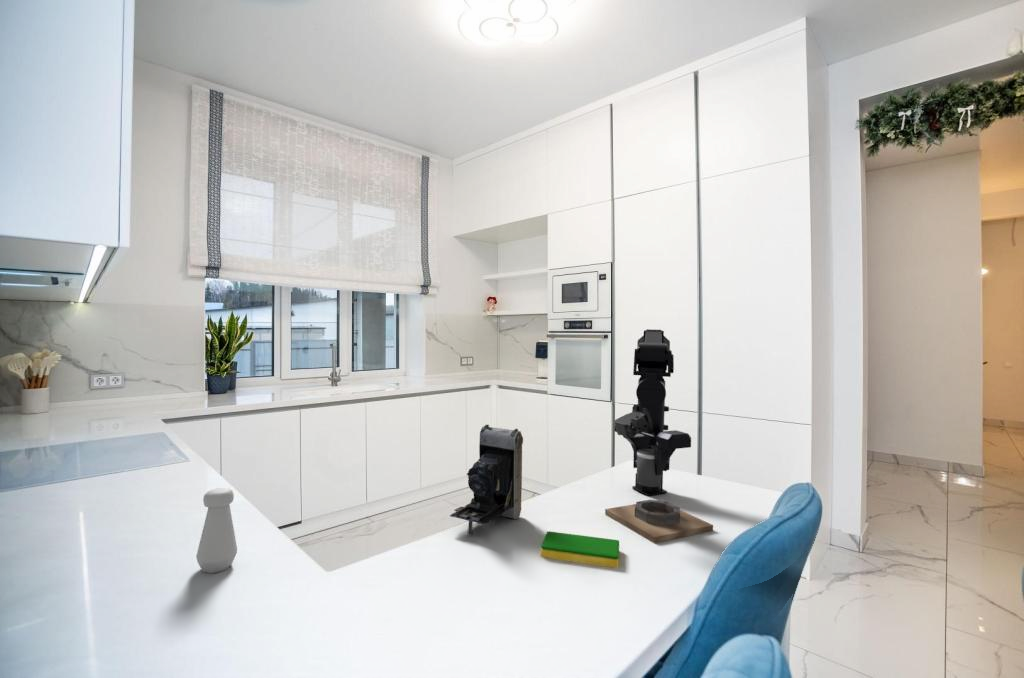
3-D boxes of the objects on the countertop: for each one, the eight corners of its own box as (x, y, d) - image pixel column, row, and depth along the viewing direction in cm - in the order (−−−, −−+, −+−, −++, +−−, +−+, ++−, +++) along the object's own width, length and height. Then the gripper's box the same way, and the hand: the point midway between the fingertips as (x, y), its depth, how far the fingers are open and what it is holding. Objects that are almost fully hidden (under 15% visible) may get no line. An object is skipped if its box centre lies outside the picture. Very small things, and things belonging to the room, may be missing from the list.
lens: (649, 478, 107) (650, 447, 107) (666, 485, 102) (667, 453, 102) (631, 480, 104) (632, 449, 104) (647, 488, 100) (648, 455, 100)
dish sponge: (547, 542, 92) (547, 530, 92) (619, 552, 89) (619, 539, 89) (540, 559, 85) (540, 546, 85) (618, 570, 82) (618, 556, 82)
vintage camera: (446, 533, 95) (448, 437, 94) (485, 507, 109) (487, 422, 108) (487, 545, 91) (489, 444, 90) (522, 516, 104) (525, 428, 103)
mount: (659, 505, 113) (659, 491, 113) (712, 530, 99) (713, 515, 99) (605, 514, 107) (605, 500, 107) (654, 543, 92) (655, 527, 92)
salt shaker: (193, 579, 75) (195, 497, 74) (198, 563, 80) (199, 487, 80) (235, 571, 77) (237, 493, 77) (238, 556, 82) (239, 483, 82)
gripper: (596, 396, 108) (594, 463, 108) (651, 409, 91) (649, 488, 91) (634, 395, 113) (632, 459, 113) (694, 406, 96) (691, 482, 96)
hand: (649, 471), depth 103 cm, fingers closed on lens, 5 cm apart
